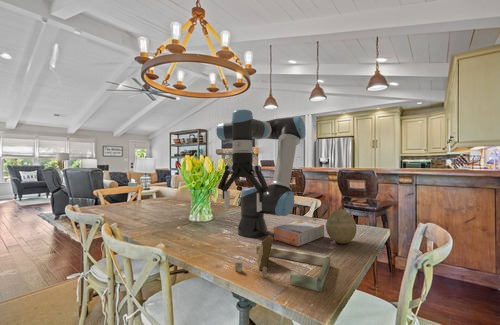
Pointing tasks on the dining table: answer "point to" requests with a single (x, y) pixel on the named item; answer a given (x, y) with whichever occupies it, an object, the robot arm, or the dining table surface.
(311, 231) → the cracker box
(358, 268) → the dining table surface
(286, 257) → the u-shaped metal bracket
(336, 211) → the fossilized egg
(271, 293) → the dining table surface
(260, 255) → the rock
